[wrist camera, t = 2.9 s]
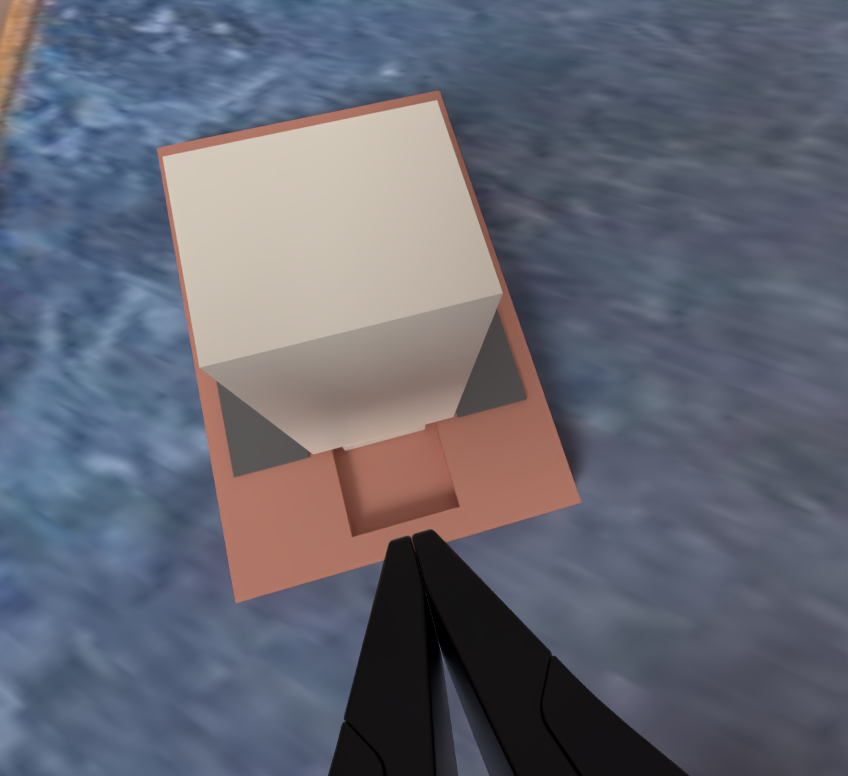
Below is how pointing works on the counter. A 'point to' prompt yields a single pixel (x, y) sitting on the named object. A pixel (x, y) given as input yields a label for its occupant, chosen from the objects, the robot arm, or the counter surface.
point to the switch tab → (336, 274)
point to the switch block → (379, 449)
